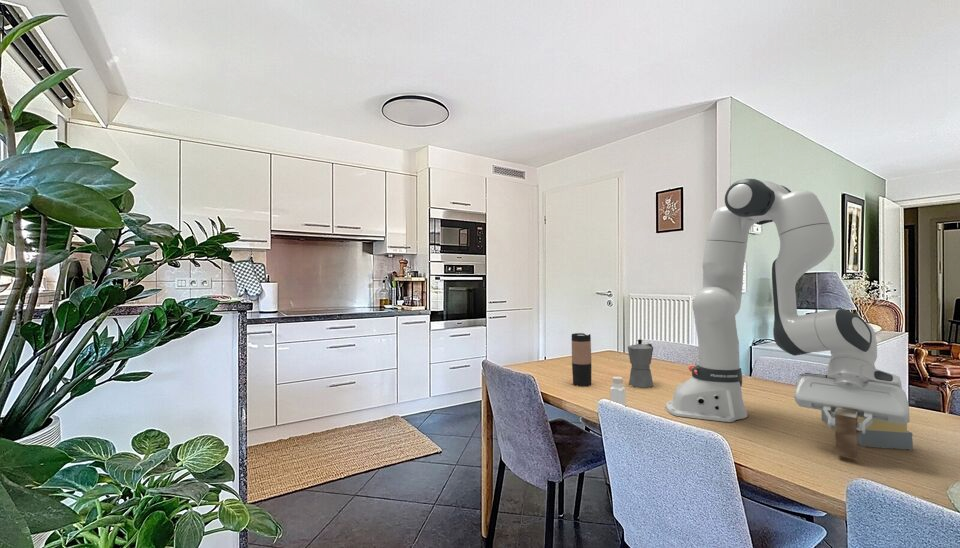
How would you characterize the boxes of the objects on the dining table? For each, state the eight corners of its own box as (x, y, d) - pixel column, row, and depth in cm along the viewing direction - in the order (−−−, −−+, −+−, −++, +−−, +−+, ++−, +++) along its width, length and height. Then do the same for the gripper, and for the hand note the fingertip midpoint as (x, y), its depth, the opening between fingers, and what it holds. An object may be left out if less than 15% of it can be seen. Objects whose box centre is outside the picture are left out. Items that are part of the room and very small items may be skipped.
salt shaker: (614, 404, 142) (613, 375, 143) (626, 406, 140) (625, 377, 140) (609, 407, 139) (609, 377, 139) (621, 409, 137) (621, 379, 137)
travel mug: (572, 386, 167) (571, 335, 167) (571, 381, 174) (570, 333, 175) (592, 386, 166) (591, 335, 166) (591, 382, 173) (589, 333, 174)
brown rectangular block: (835, 454, 96) (834, 410, 96) (837, 450, 99) (837, 407, 99) (856, 459, 94) (855, 414, 94) (858, 454, 96) (857, 410, 96)
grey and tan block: (861, 446, 104) (860, 415, 104) (821, 420, 123) (820, 393, 123) (912, 449, 101) (911, 418, 101) (863, 422, 120) (862, 395, 120)
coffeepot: (642, 390, 159) (641, 342, 159) (620, 385, 166) (619, 339, 167) (664, 383, 168) (662, 338, 169) (642, 379, 176) (641, 336, 176)
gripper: (795, 364, 109) (787, 411, 102) (909, 377, 94) (909, 433, 87) (799, 378, 112) (792, 425, 105) (910, 394, 97) (909, 449, 90)
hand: (846, 429), depth 96 cm, fingers closed on brown rectangular block, 3 cm apart
